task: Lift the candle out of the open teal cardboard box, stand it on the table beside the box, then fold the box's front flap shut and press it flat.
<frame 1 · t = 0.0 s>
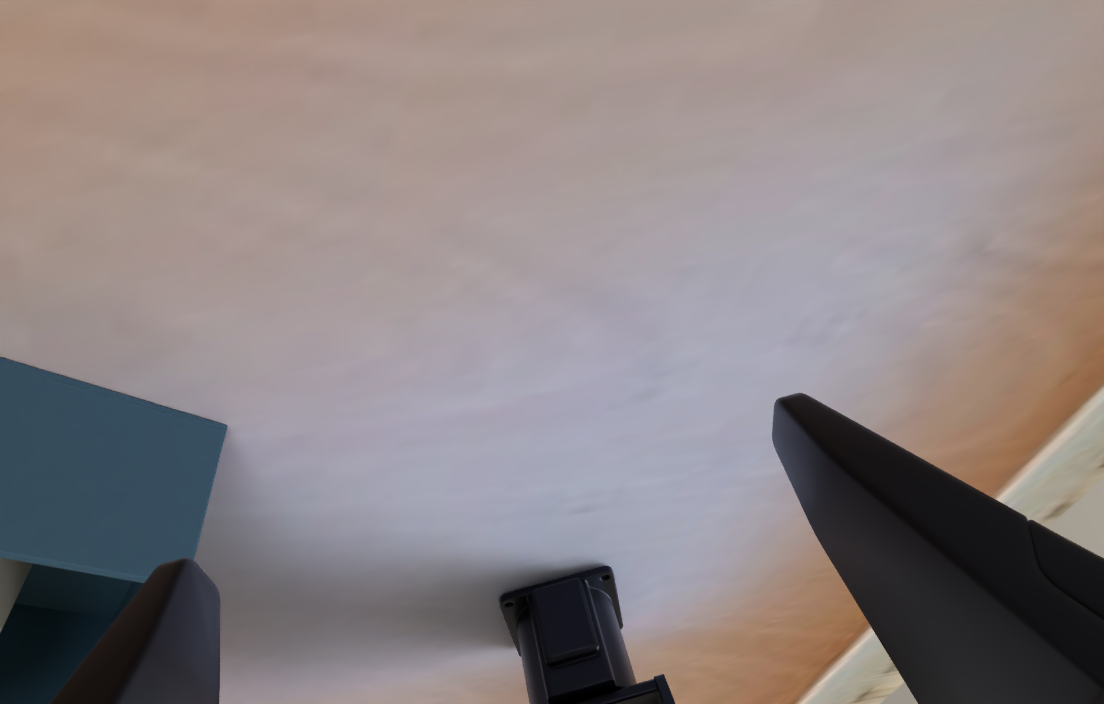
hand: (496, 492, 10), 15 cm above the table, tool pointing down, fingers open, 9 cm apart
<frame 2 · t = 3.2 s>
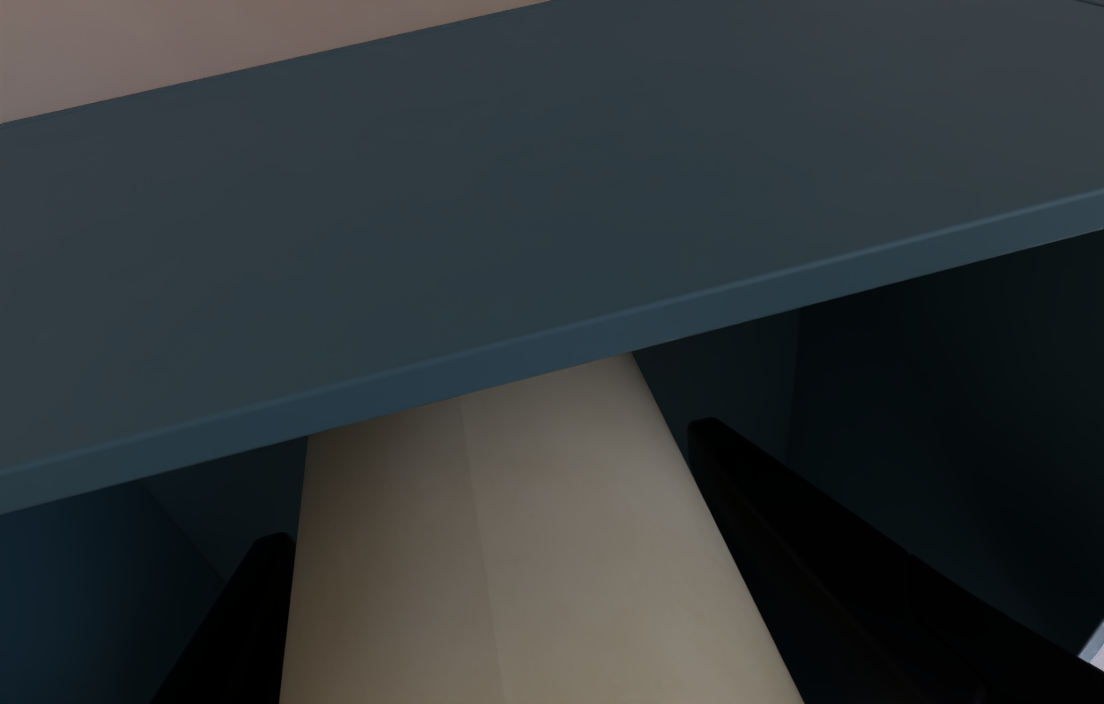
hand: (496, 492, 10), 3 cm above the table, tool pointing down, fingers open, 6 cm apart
candle: (472, 361, 13), resting on carton
carton: (478, 380, 13), on the table
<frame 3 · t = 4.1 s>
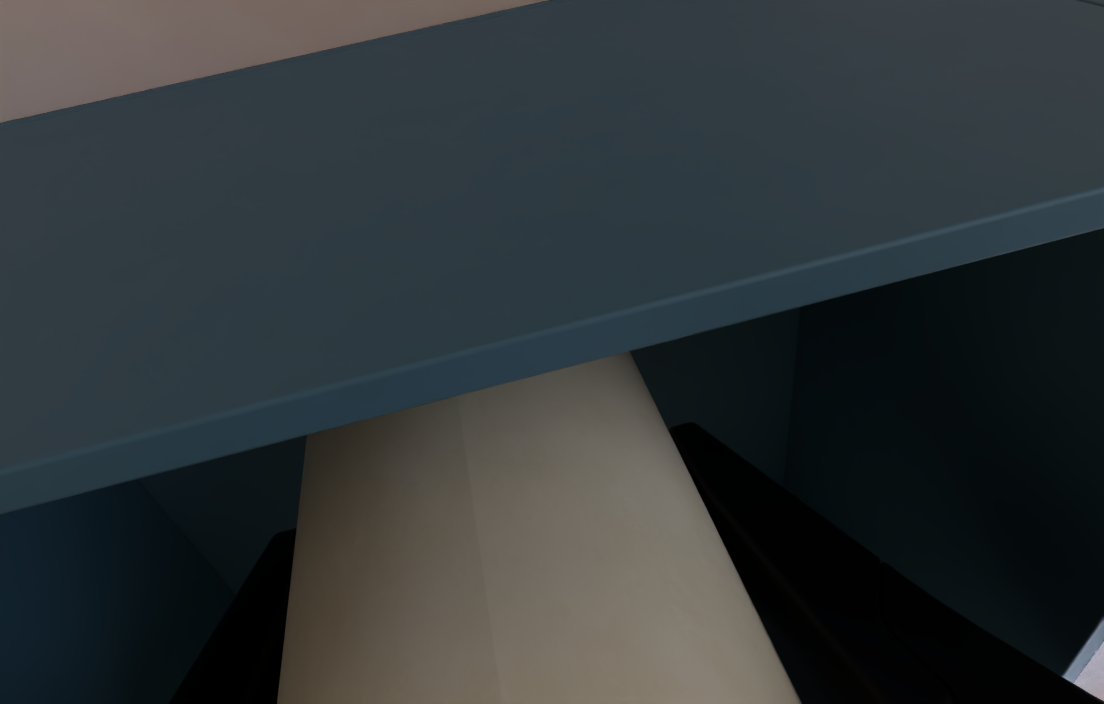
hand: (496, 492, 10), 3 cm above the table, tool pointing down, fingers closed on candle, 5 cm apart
candle: (470, 362, 13), resting on carton, touching gripper
carton: (477, 379, 13), on the table
when the fingers open (3 cm above the table, at t = 9.0 s): candle stays where it is, on the table.
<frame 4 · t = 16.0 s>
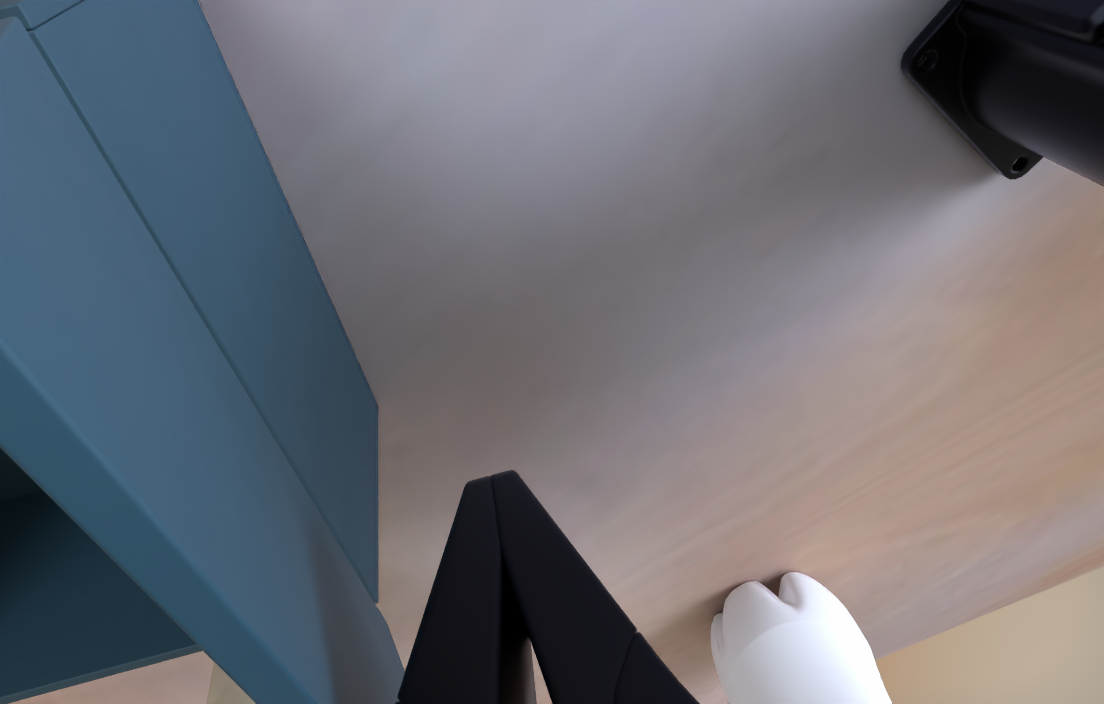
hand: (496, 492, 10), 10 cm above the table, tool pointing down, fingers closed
water bottle: (759, 597, 35), on the table
candle: (305, 578, 27), on the table
flap: (291, 561, 10), point 11 cm above the table, hinge at 106.8°, touching gripper
carton: (58, 281, 18), on the table
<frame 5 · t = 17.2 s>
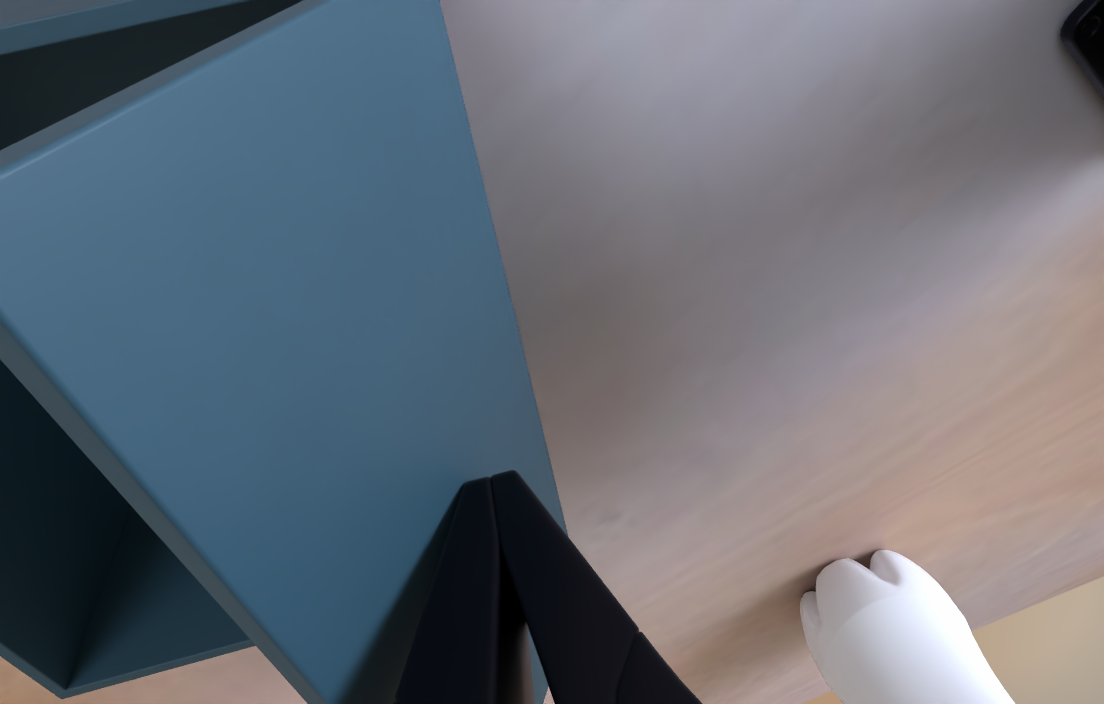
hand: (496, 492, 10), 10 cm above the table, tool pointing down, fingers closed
water bottle: (846, 576, 36), on the table
flap: (451, 516, 10), point 11 cm above the table, hinge at 60.3°, touching gripper
carton: (242, 247, 18), on the table
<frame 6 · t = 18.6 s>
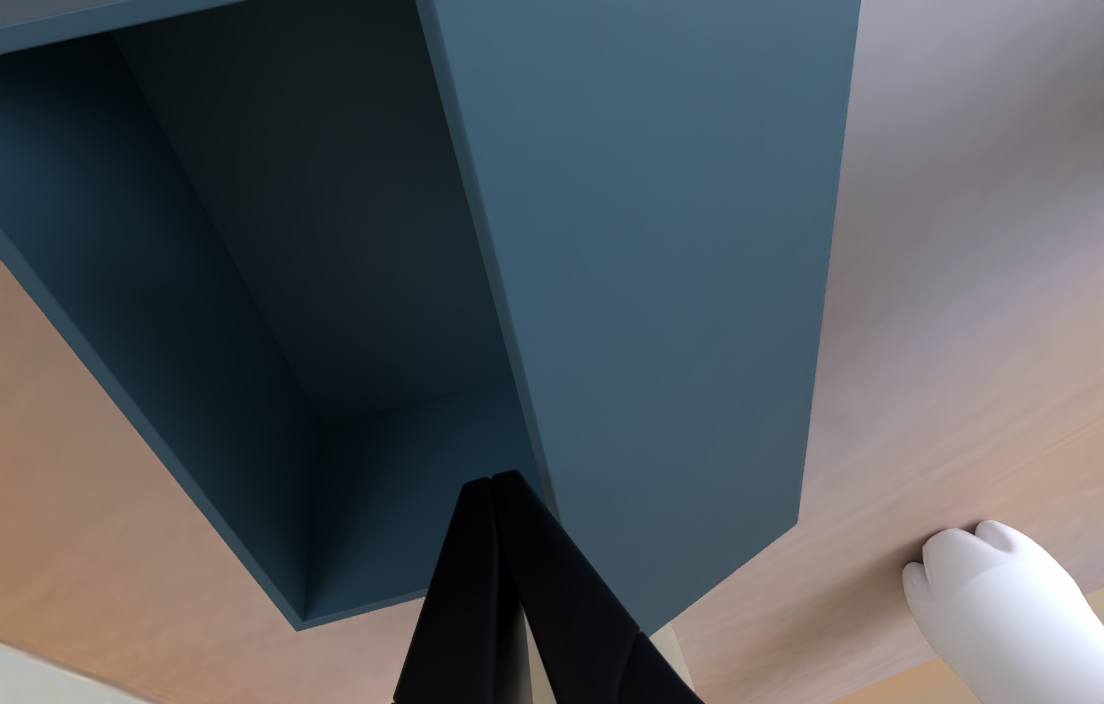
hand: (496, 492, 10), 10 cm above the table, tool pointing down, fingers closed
water bottle: (947, 547, 36), on the table
candle: (559, 515, 28), on the table
flap: (691, 375, 11), point 9 cm above the table, hinge at 21.8°
carton: (452, 196, 18), on the table
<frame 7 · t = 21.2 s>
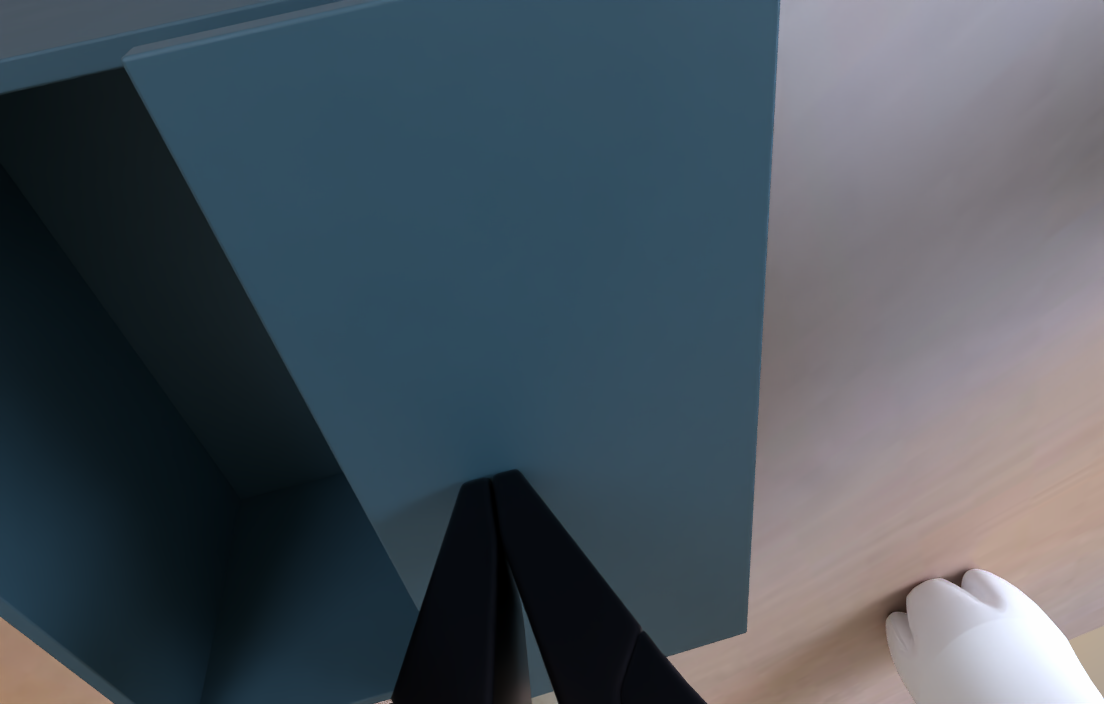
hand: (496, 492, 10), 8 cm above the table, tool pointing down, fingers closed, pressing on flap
water bottle: (933, 595, 34), on the table
flap: (566, 461, 10), point 8 cm above the table, hinge at 0.8°, touching gripper
carton: (369, 258, 16), on the table
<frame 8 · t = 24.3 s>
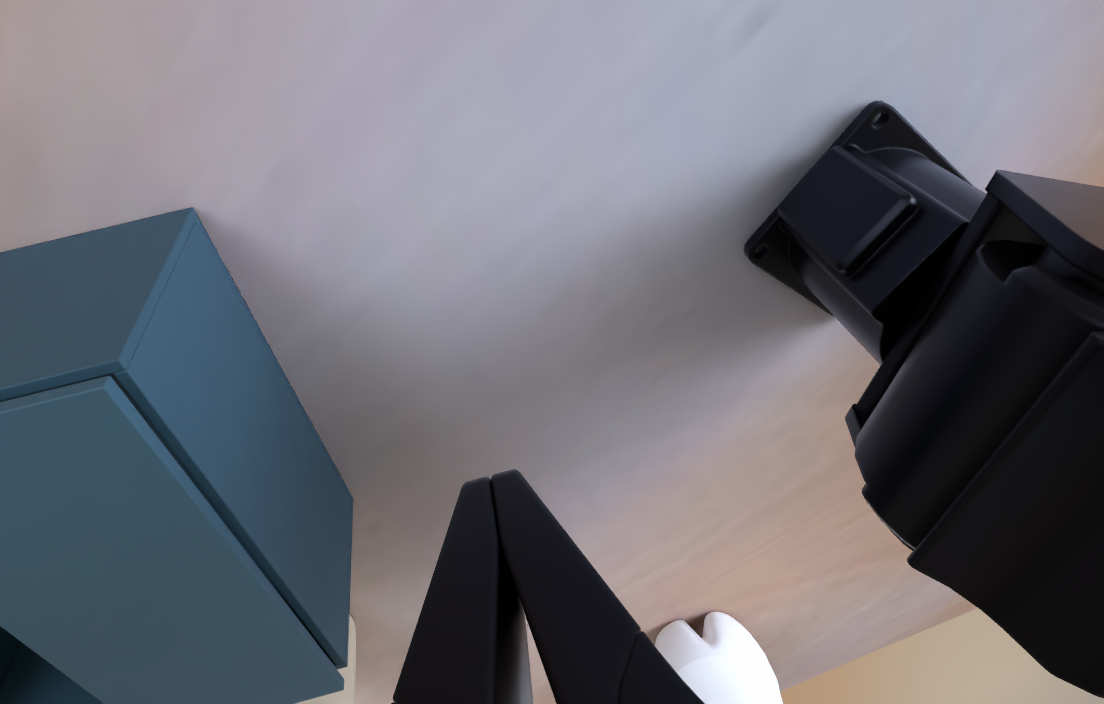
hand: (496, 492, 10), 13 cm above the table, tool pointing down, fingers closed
water bottle: (689, 632, 41), on the table
candle: (298, 627, 33), on the table
flap: (137, 599, 18), point 8 cm above the table, hinge at -0.6°
carton: (108, 424, 23), on the table
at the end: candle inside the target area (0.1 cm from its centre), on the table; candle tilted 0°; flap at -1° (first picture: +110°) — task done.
